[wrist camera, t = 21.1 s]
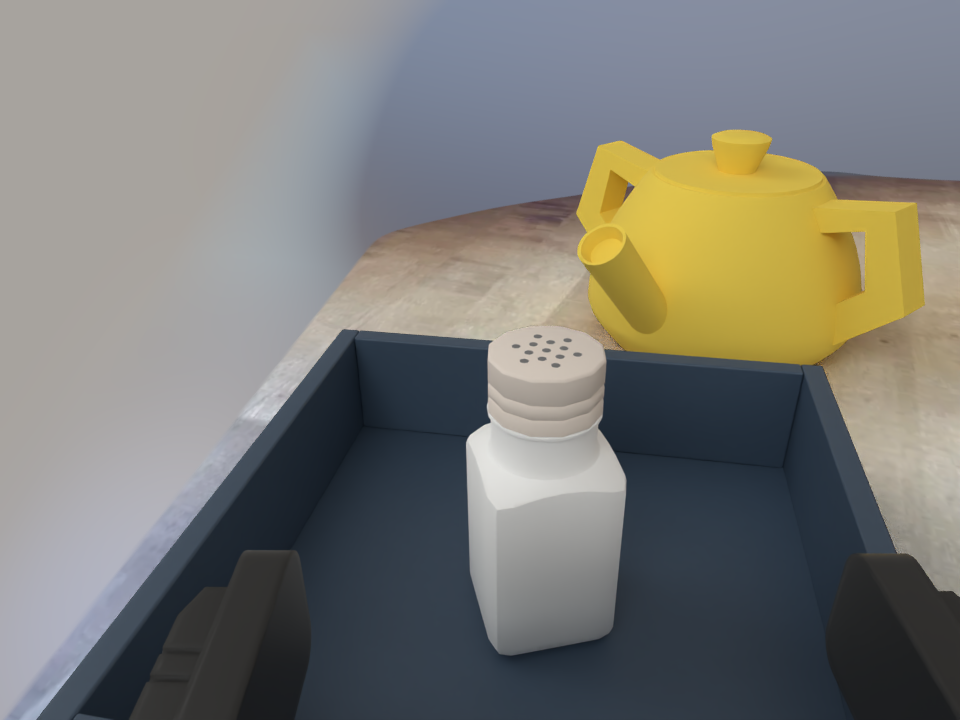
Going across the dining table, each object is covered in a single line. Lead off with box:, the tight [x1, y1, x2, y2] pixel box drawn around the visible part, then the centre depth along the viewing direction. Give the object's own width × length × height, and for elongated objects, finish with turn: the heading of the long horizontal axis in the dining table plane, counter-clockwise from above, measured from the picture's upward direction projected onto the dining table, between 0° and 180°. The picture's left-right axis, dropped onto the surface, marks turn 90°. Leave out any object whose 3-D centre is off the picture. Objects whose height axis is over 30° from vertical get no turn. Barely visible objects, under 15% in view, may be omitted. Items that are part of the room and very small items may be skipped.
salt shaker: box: [466, 326, 627, 656], centre depth 23 cm, size 4×4×10 cm
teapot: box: [576, 130, 925, 365], centre depth 39 cm, size 20×18×11 cm
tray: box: [37, 329, 897, 720], centre depth 24 cm, size 20×20×5 cm
